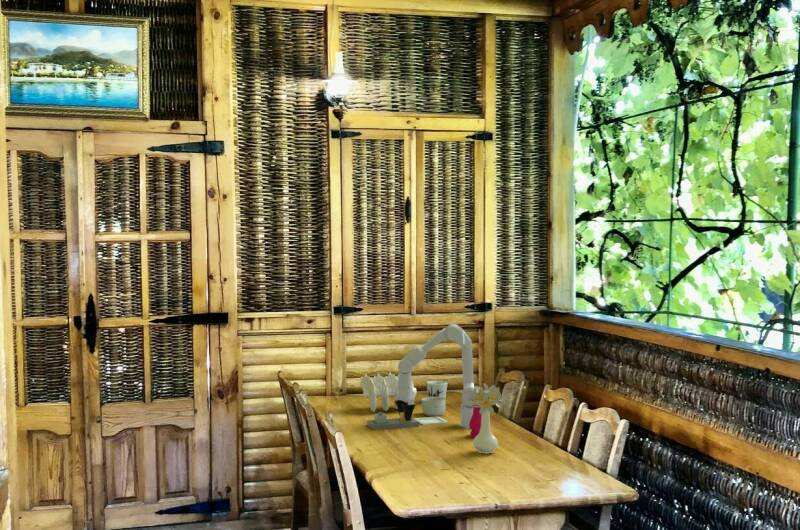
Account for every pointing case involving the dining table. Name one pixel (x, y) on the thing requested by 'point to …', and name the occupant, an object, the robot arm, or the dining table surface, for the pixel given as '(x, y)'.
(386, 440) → the dining table surface
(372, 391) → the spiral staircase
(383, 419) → the seated twin plug
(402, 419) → the orange plug
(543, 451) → the dining table surface
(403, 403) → the robot arm
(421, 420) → the tray
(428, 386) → the mug
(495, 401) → the flower vase
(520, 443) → the dining table surface
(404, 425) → the grey socket board
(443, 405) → the teacup
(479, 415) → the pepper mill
